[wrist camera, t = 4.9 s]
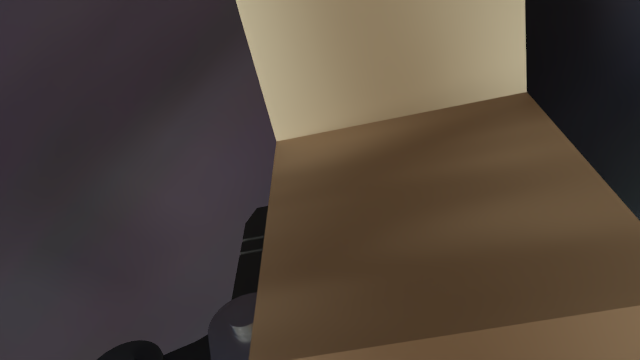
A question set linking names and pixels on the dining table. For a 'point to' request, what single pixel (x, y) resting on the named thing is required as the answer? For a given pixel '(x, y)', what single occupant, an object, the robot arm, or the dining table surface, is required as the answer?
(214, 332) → the robot arm
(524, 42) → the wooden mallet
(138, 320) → the dining table surface
